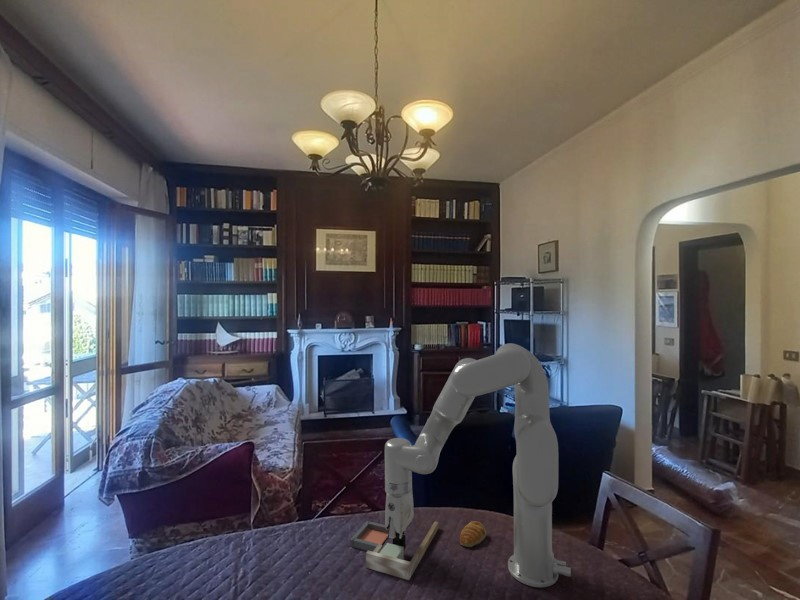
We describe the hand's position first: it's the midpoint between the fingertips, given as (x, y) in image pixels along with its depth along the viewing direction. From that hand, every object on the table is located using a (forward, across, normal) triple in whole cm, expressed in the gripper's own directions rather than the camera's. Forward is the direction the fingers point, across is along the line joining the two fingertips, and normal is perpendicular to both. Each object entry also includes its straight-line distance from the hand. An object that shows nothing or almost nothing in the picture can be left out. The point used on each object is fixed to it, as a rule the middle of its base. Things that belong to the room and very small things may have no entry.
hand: (399, 549), depth 114 cm
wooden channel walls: (+2, +4, 0) cm, 5 cm away
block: (+2, -4, 0) cm, 5 cm away
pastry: (+2, +16, -17) cm, 23 cm away
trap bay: (+2, +3, +10) cm, 11 cm away
